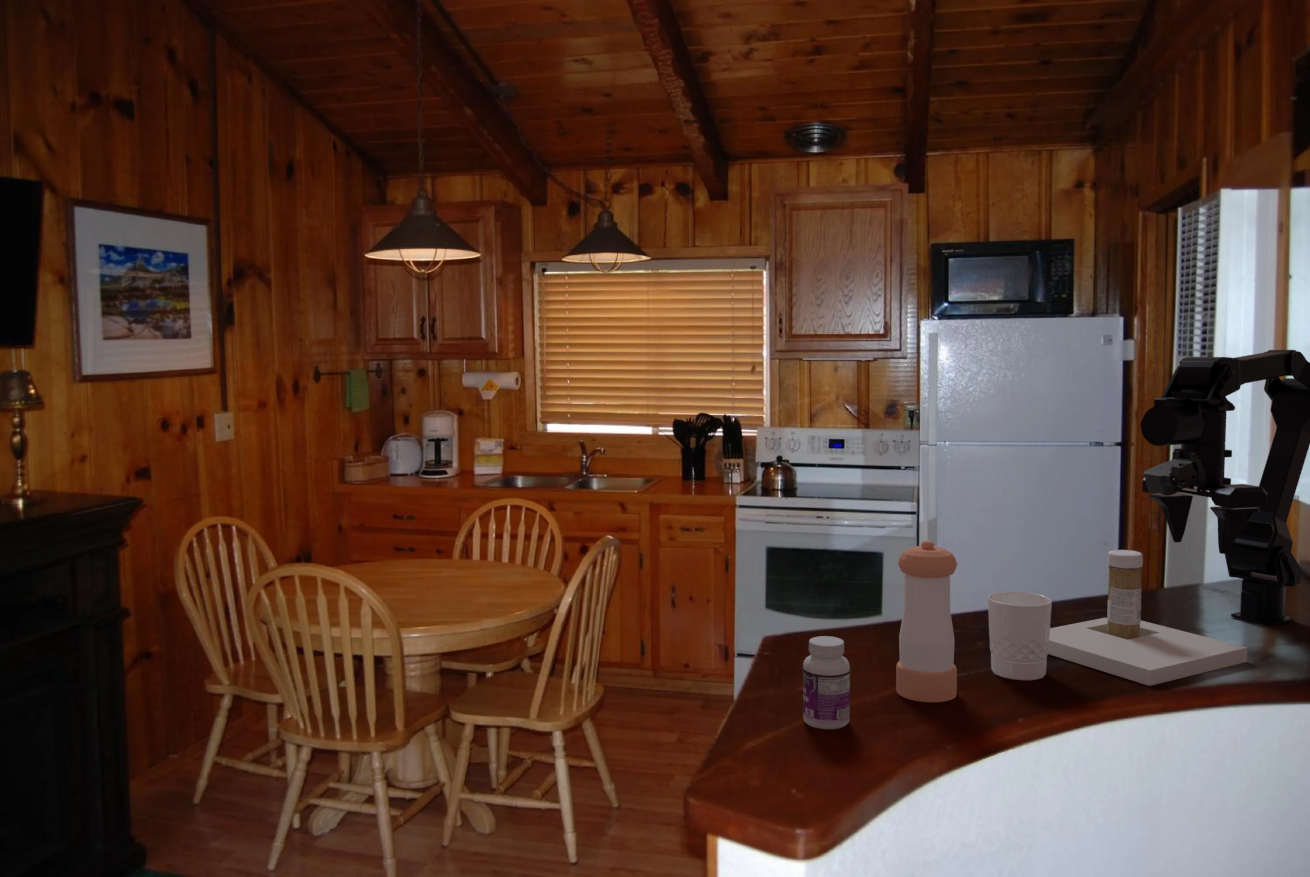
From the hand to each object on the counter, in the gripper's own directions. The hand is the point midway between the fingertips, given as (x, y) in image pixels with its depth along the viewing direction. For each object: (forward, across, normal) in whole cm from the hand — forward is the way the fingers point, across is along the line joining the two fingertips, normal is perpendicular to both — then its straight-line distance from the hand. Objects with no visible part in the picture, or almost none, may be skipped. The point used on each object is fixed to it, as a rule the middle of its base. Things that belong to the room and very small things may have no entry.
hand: (1199, 547), depth 151 cm
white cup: (+13, +10, -36) cm, 39 cm away
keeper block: (+13, +6, -16) cm, 21 cm away
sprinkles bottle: (+13, +2, -14) cm, 19 cm away
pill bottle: (+13, +20, -67) cm, 71 cm away
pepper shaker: (+13, +14, -51) cm, 55 cm away
